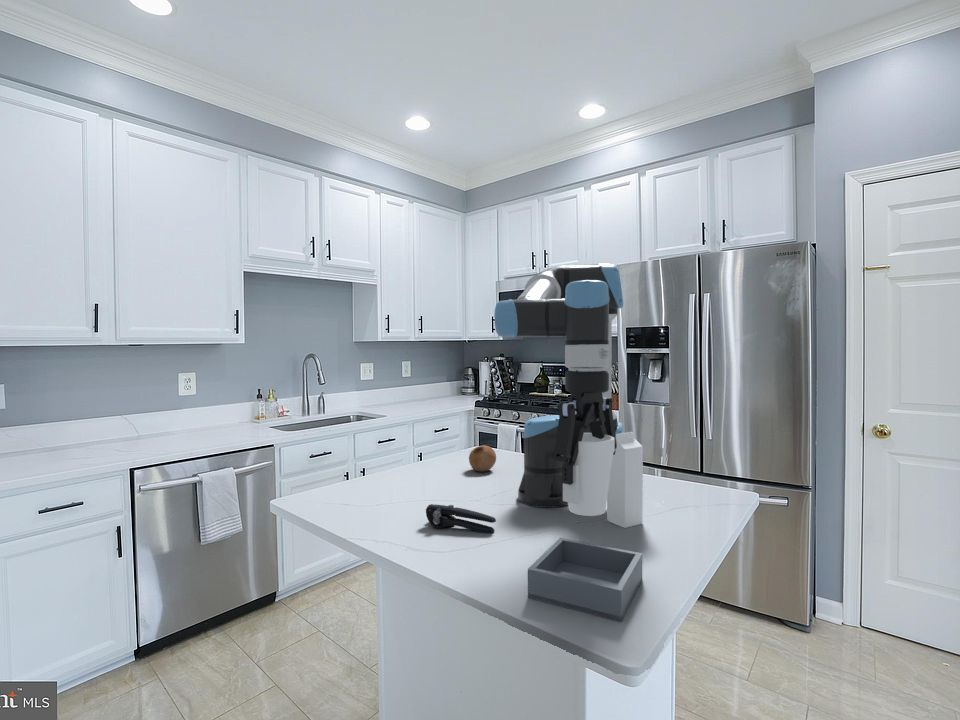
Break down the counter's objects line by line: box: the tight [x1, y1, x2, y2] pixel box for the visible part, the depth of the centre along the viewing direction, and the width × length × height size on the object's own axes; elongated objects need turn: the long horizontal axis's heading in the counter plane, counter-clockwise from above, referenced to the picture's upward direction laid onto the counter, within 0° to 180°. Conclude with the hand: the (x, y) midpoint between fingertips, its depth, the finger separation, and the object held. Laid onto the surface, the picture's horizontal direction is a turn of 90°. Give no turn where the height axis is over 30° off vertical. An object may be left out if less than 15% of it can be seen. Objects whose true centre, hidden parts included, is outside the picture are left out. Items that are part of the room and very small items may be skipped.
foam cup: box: [567, 433, 615, 517], centre depth 90 cm, size 10×9×13 cm
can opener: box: [425, 503, 497, 534], centre depth 121 cm, size 18×7×6 cm, turn 69°
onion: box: [468, 444, 497, 473], centre depth 175 cm, size 10×9×10 cm
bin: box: [527, 537, 643, 623], centre depth 90 cm, size 16×16×5 cm
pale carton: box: [606, 431, 644, 529], centre depth 123 cm, size 6×6×22 cm
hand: (586, 495), depth 90 cm, fingers closed on foam cup, 9 cm apart
